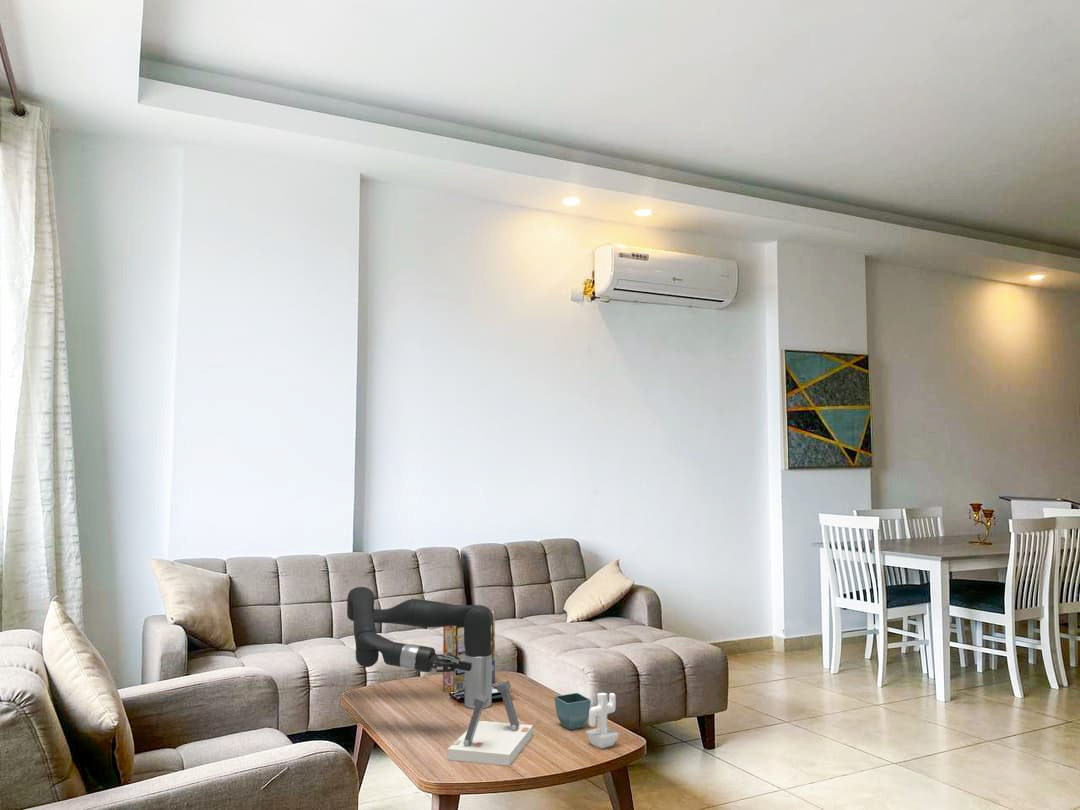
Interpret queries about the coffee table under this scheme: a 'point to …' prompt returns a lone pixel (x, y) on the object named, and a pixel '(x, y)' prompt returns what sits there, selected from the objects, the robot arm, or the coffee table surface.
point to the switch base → (492, 744)
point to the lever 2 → (508, 704)
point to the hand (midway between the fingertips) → (471, 667)
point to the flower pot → (572, 710)
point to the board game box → (460, 656)
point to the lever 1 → (475, 718)
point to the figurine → (602, 721)
